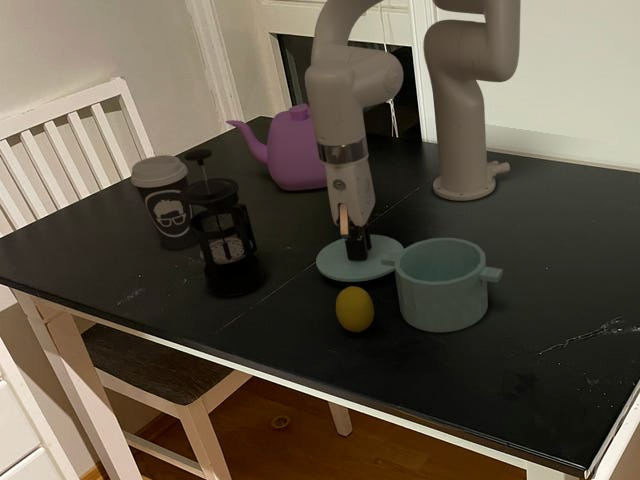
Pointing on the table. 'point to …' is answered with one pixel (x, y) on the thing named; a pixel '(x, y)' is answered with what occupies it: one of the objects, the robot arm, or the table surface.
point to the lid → (340, 268)
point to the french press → (223, 233)
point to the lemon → (354, 309)
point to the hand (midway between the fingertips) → (360, 253)
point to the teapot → (289, 149)
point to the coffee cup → (165, 198)
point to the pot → (442, 283)
